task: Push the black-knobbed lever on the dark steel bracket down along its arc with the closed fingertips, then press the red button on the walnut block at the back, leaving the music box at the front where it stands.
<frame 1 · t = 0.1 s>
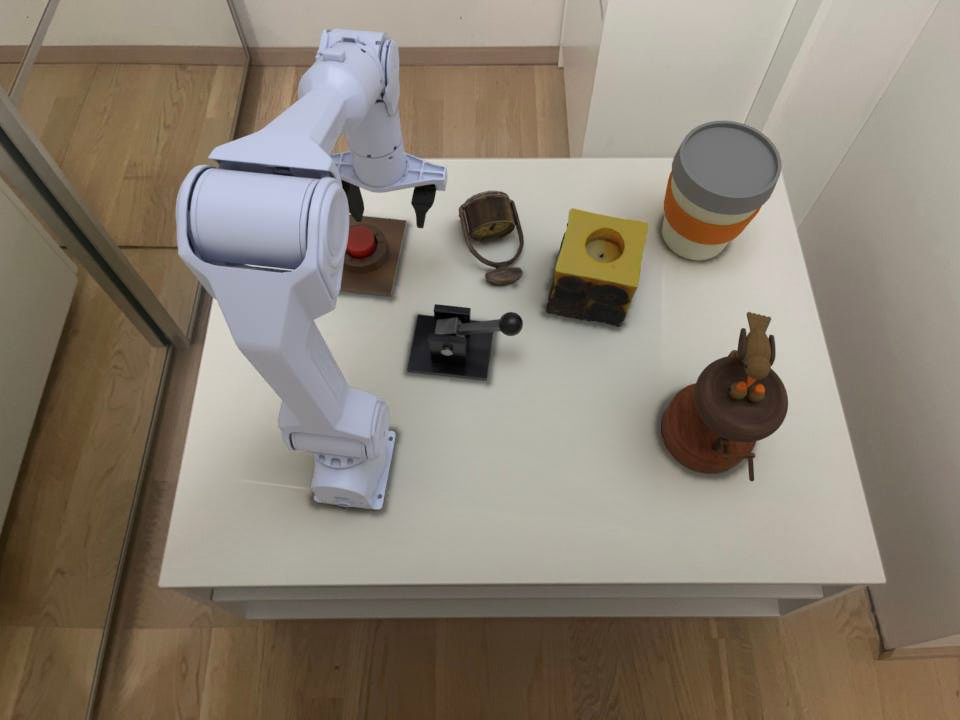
hand: (390, 218, 82), 10 cm above the table, tool pointing down, fingers open, 7 cm apart
brown desk clock: (489, 249, 92), on the table
music box: (705, 438, 80), on the table
button: (359, 242, 88), point 3 cm above the table, slide at 0.1 cm
lever: (479, 327, 79), point 7 cm above the table, hinge at 25.0°
bracket: (451, 349, 85), on the table
button block: (364, 257, 91), on the table
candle: (589, 291, 89), on the table
reusable coffee cup: (693, 234, 93), on the table
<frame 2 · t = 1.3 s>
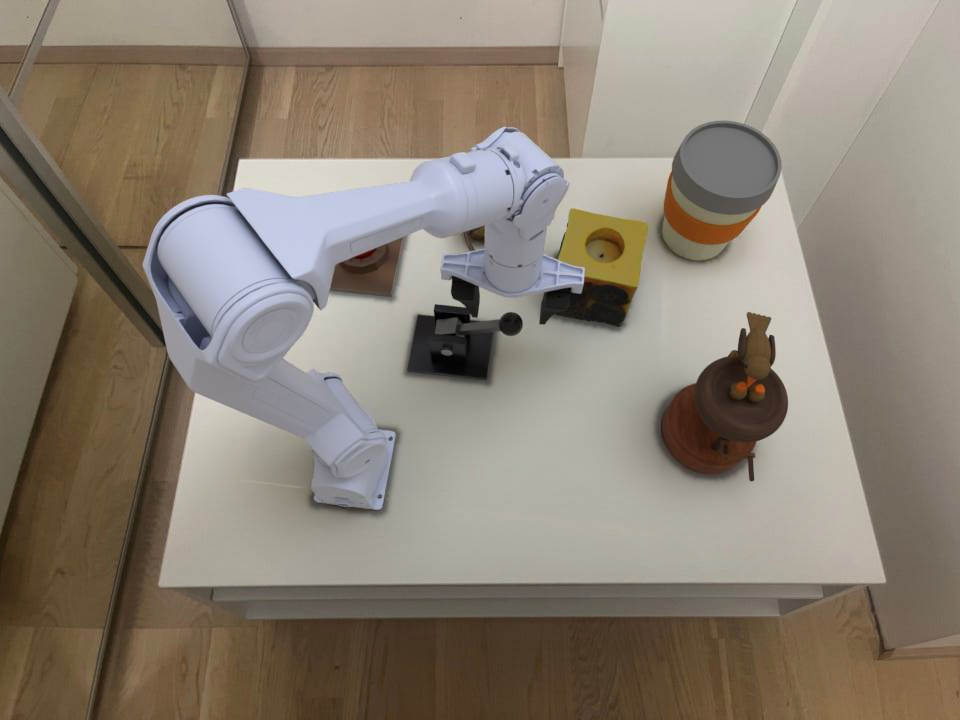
hand: (509, 313, 76), 10 cm above the table, tool pointing down, fingers open, 7 cm apart
nothing on the table moved.
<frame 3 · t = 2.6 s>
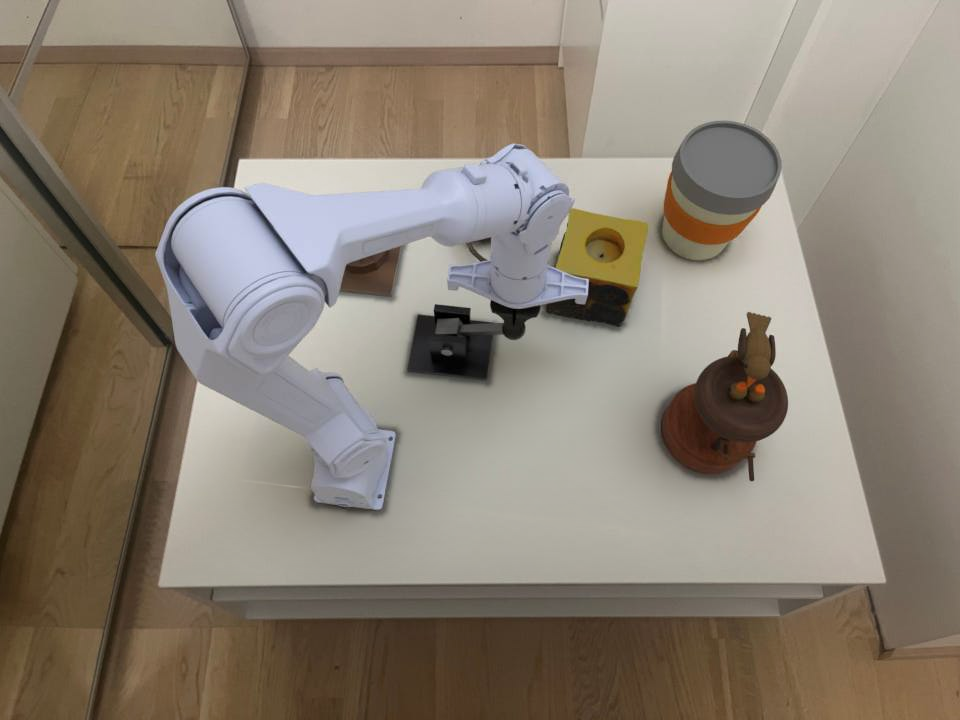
hand: (514, 322, 77), 9 cm above the table, tool pointing down, fingers closed, pressing on lever
lever: (481, 329, 79), point 6 cm above the table, hinge at 17.5°, touching gripper
everything else where it was.
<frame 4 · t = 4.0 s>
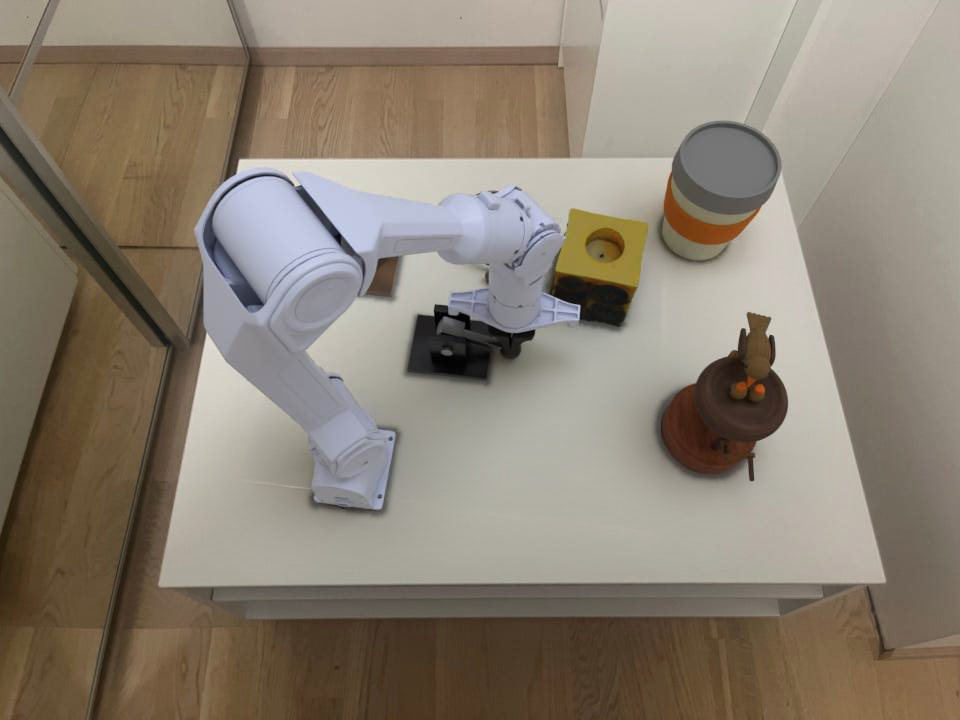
hand: (510, 343, 82), 3 cm above the table, tool pointing down, fingers closed, pressing on lever
lever: (480, 339, 82), point 4 cm above the table, hinge at -21.4°, touching gripper
everything else where it was.
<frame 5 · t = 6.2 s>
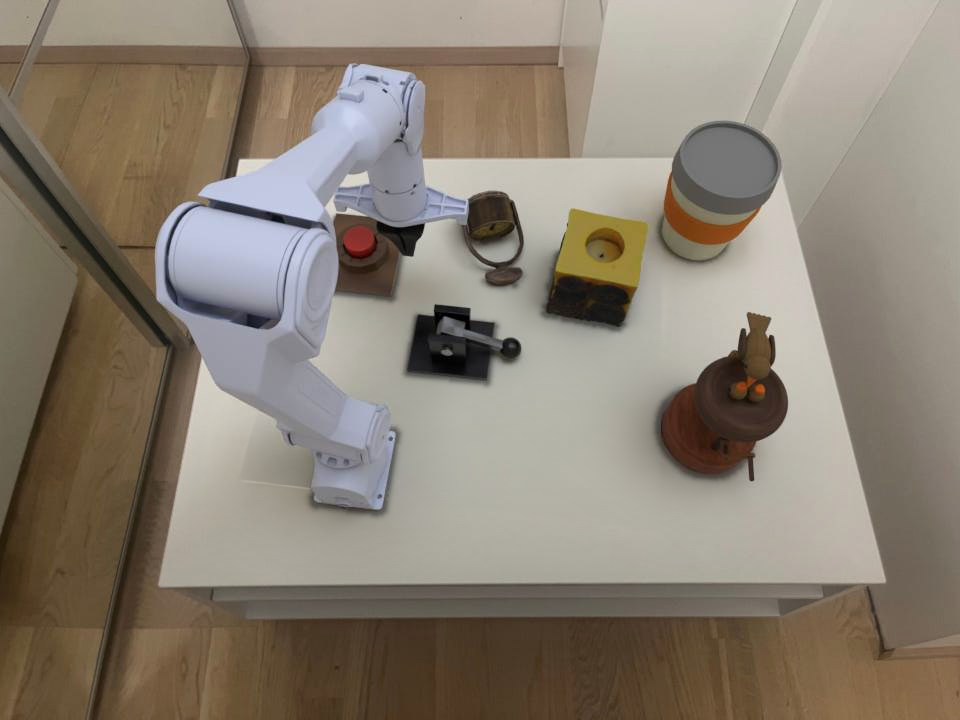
hand: (409, 249, 80), 10 cm above the table, tool pointing down, fingers closed
lever: (480, 339, 82), point 4 cm above the table, hinge at -21.6°
everything else where it was.
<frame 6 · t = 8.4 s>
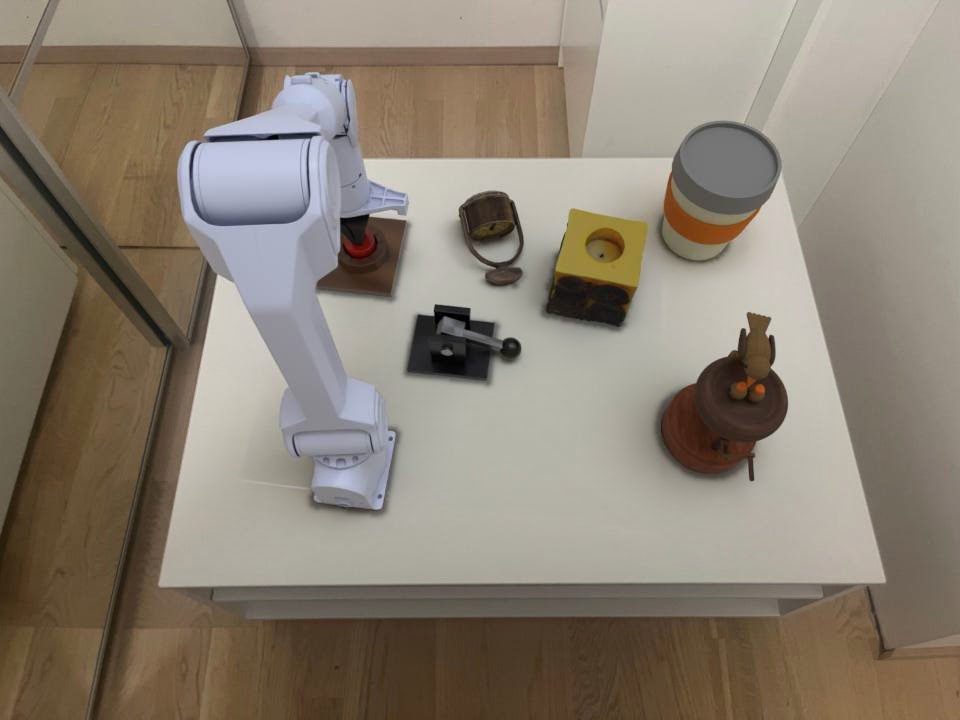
hand: (359, 239, 88), 4 cm above the table, tool pointing down, fingers closed, pressing on button
button: (360, 243, 88), point 3 cm above the table, slide at -0.1 cm, touching gripper
everything else where it was.
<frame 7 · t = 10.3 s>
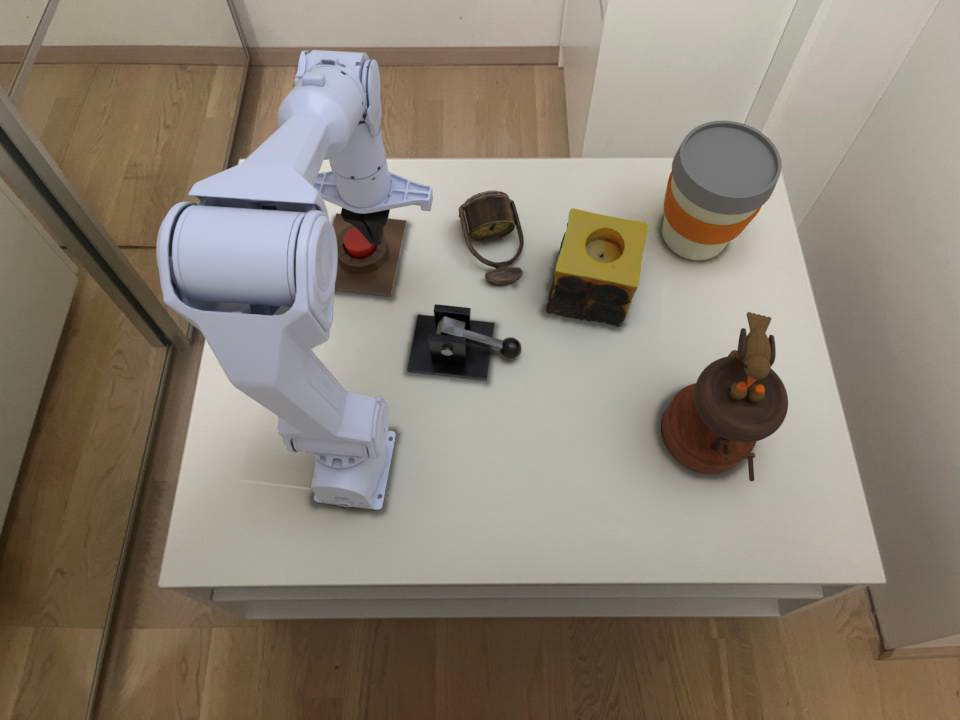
hand: (376, 237, 80), 10 cm above the table, tool pointing down, fingers closed
button: (359, 242, 88), point 3 cm above the table, slide at 0.1 cm
everything else where it was.
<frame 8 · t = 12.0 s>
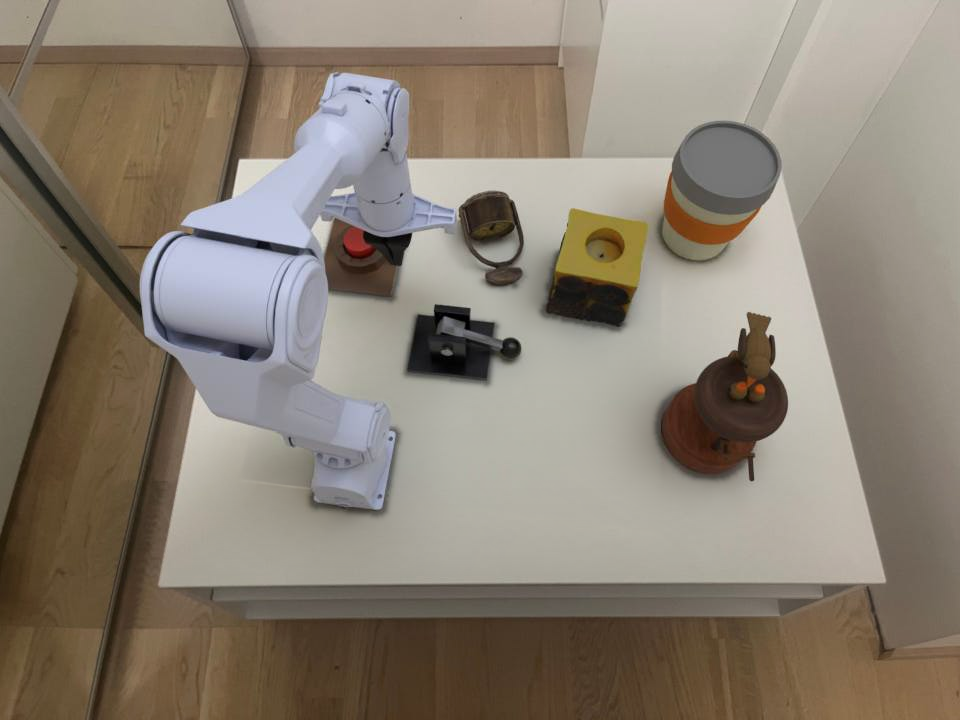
hand: (397, 258, 79), 10 cm above the table, tool pointing down, fingers closed
nothing on the table moved.
at the end: lever at -22° (first picture: +25°); button pushed in 1.2 cm at the most during the clip, back to where it started at the end; music box moved 0.2 cm from its start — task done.
